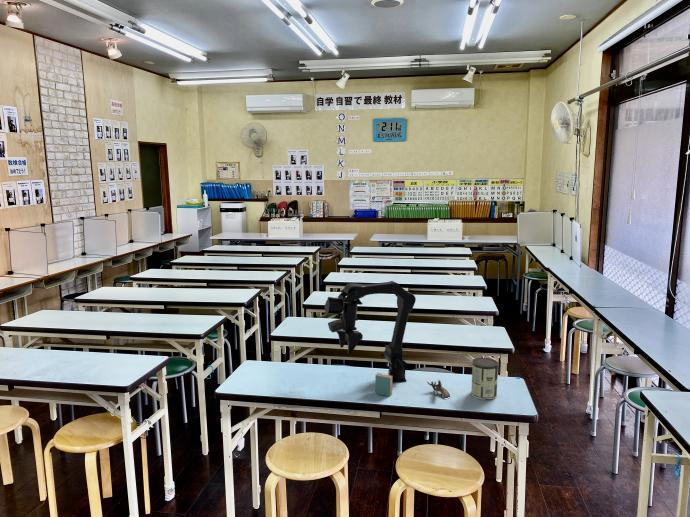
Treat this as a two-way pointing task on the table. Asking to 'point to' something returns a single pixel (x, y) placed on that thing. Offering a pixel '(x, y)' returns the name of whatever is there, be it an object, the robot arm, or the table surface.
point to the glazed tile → (383, 384)
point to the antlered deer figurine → (439, 389)
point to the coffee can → (484, 378)
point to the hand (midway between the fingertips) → (345, 350)
